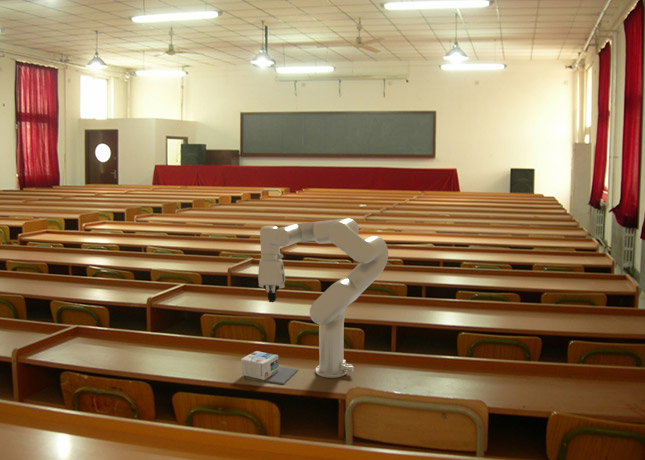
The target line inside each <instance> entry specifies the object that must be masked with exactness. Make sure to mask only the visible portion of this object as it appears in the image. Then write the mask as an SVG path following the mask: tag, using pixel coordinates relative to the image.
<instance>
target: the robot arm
mask: <svg viewBox="0 0 645 460" xmlns="http://www.w3.org/2000/svg"><path fill="white" fill-rule="evenodd" d="M359 231H360V229H359V224H358V222H356V221H355V220H354V219H352V218H339V219H330V220H321V221H319V220H318V221H310V222H301V223H300V222H299V223H293V224H288V225H286V226H282V227H278V226H276V225H264V226H261V228H260V230H259V234H260V235H259V236H260V237H259V238H260V239H259V240H260V260H259V263H258V271H257V273H258V275H257V276H258V277H257V279H258V287H259V288H263V289H264V290H265V291H266V293H267V300H268V302H269V303H274V302H276V300H277V291H279V289H283V288H285V287H286V286H285V283H286V273H285V267H284V266H285V265H284V261H283V259H282V258H284V254H282V253H281V250H280V249H281V248H280V247H282V248H284V247H289V246H291V245H294V244H297V243H301V242H316V243H317V244H319V245H320V244H332V243H333V245H334V246H336V247H337V248H338V249H339V250H341V251H342V252H343V253H344V254H346V255H348V257H350V258H351V259H353V260H354V261H355V262H356V263H358V264H357V265H356V266H355V267H354V268H353V269H352V270H351V271H350V272H349V273H348V274H346V276H344V277H342V278H340V279H338V280H337V281H335V282H334V283H332V284H331V285H330V286H329V287H328V288H327V289H326V290H325V291H324V292H323V293H322V294H320V296H319V297H318V298H316V299H315V300H314V301H313V303H312V304H311V306H310V308H309V315H310V316H309V317H310V319H311V320H312V322H314V324H317V325H319V326H318V327H319V328H318V332H319V333H318V339H319V341H318V343H319V346H318V348H319V349H318V350H319V352H318V353H319V357H318V358H319V362H318V363H319V365H317V366H316V367H315V373H316V374H317V376H319V377H323V378H328V379H329V378H330V379H335V378H336V379H337V378H342V377H344V376H345V375H347V373H348V372H354V369H355V367H354V366H353V364H351V363H350V364H349V363H347V362H346V361H347V360H346V359H344V358H345V357H344V354H345V353H344V350H345V349H344V348H345V347H344V334H345V333H344V331H345V330H344V328H345V327H344V326H345V324H344V323H345V316H346V315H345V314H346V308H347V307H348V306H349V305H351V304H352V303H353V302H355V301H356V300H357V299H358V298H359V297H360V296H361V295H362V293H364V291H366V289H368V287H369V286H370V285H371V284H373V282H374V281H376V280H377V278H378V277H380V275H381V274H382V272H383V271H384V269H385V268H386V266H387V264H388V259H389V249H388V245H387V243H386V241H385V240H384V239H383V238H382V237H380V236H378V235H372V236H368V237H366V238H363V237H361V236H360V235H359Z"/></svg>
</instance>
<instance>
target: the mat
mask: <svg viewBox="0 0 645 460" xmlns="http://www.w3.org/2000/svg"><path fill="white" fill-rule="evenodd" d="M298 371H299V369H297V368H290V367H285V366H279V371H278V372H276V373H275V374H273V375H271V376H270V377H268V378H266V379H265V380H262V379H258V378H253V377H249V376H245V380H251V381H257V382H264V381H265V382H264V383H270V382H272V383H271V384H277V383H278V384H279V385H285V384H286V383H287V382H288V381H289V380H290V379H292V377H293V376H295V375H296V374H297V372H298Z"/></svg>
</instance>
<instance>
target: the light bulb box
mask: <svg viewBox="0 0 645 460" xmlns="http://www.w3.org/2000/svg"><path fill="white" fill-rule="evenodd" d="M279 367H280V365H279V355H278V354H273V353H268V352H262V351H258V350H256V351H253V352H252V353H249V354H248V355H245V356H243V357H242V358H241V359H240V374H241V376H244V377H247V376H249V377H253V378H258V379H262V380H265V379H266V378H268V377H270V376H271V375H273V374H275V373H276V372H278V371H279Z"/></svg>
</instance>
